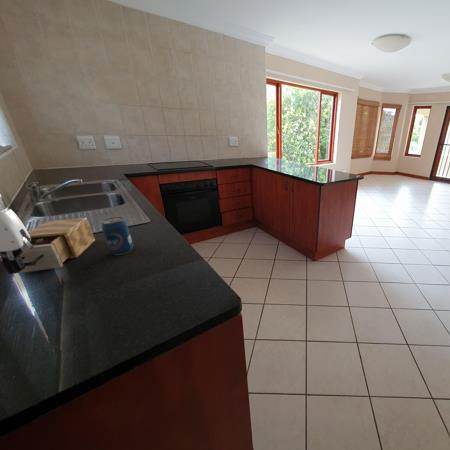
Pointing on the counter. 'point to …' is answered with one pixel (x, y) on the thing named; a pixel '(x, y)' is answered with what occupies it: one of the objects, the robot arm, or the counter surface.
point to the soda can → (117, 235)
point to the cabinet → (68, 233)
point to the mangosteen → (41, 242)
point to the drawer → (46, 254)
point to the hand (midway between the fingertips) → (17, 270)
